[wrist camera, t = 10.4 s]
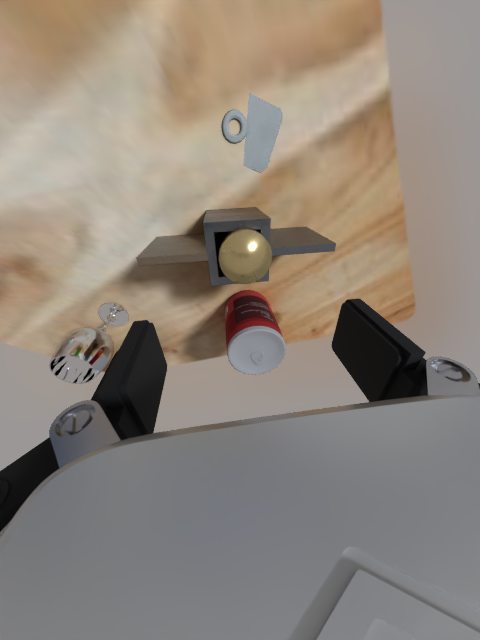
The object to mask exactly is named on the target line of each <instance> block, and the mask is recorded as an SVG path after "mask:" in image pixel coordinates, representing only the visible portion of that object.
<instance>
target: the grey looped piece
mask: <svg viewBox="0 0 480 640" xmlns="http://www.w3.org/2000/svg"><path fill="white" fill-rule="evenodd" d="M233 118H236V119H238V120H239V121H240V123H241V130H240V133H239V134H237V135H233V134H231V133H230V131H229V128H228V125H229V122H230V120H231V119H233ZM281 122H282V111H281V109H280V108H278V107H276V106H274V105H272V104H270V103H268V102H266V101H264V100H262V99H260V98H258V97H256V96H254V95H252V94H250V93H249V103H248V116H247V121H246V118H245V116H244V115H243V113H241V112H240V111H239V110H234V109H233V110H231V111H228V112H227V114H226V115H225V116H224V119H223V121H222V130H223V134H224V136H225V138H226V139H227V140H228V141H229V142H231V143H239V142H241V141H242V140H243V139H244V138H245V135H246V141H245V154H244V166H246V167H248V168H250V169H253V170H255V171H258V172H260V173H261V172H263V171H264V170H265V169H266V168H267V166H268V163H269V160H270V156H271V153H272V150H273V147H274V144H275V141H276V138H277V135H278V132H279V129H280V126H281Z"/></svg>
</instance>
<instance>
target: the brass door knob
mask: <svg viewBox="0 0 480 640" xmlns="http://www.w3.org/2000/svg"><path fill="white" fill-rule="evenodd" d="M226 236H227V237H226V238H225V239H224V240H223V242H222V244H221V246H220V250H219V264H220V267H221V270H222V272H223V273H224V274H225V276H226V277H227V278H229V279H230V280H231V281H233V282H236V283H240V284H249V283H253V282H256V281H258V280H259V279H261V278H262V277H263V276H264V275H265V274H266V273H267V271H268V270H269V268H270V265H271V262H272V250H271V247H270V245H269V243H268V241H267V240H266V239H265V238H264V236H263V235H262V234H260V233H259V232H257V231H255V230H252V229H239V230H236V231H227V233H226Z"/></svg>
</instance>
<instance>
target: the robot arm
mask: <svg viewBox="0 0 480 640" xmlns="http://www.w3.org/2000/svg"><path fill="white" fill-rule="evenodd" d="M332 349H333V351H334V352H335V354H336V355H337V357H338V358H339V359H340V361H341V362H342V364H343V365H344V366H345V368H346V369H347V371H348V372H349V374H350V375H351V376H352V378H353V379H354V381H355V382H356V383H357V385H358V386H359V388H360V389H361V390H362V392H363V393H364V395H365V396H366V398H367V399H368V400H369V402H368V403H360V404H353V405H345V406H338V407H330V408H323V409H316V410H309V411H302V412H294V413H287V414H280V415H273V416H266V417H259V418H252V419H245V420H238V421H231V422H224V423H217V424H210V425H203V426H196V427H190V428H183V429H177V430H171V431H166V432H159V433H153V431H154V427H155V422H156V417H157V413H158V408H159V404H160V399H161V395H162V390H163V386H164V381H165V376H166V372H167V363H166V360H165V357H164V354H163V351H162V348H161V345H160V342H159V339H158V336H157V333H156V330H155V327H154V325H153V323H149V321H148V320H143V321H135V322H133V324H132V326H131V328H130V330H129V332H128V334H127V336H126V338H125V340H124V342H123V343H122V345H121V347H120V349H119V351H117V352H116V354H115V355H114V357H113V359H112V361H111V363H110V365H109V366H108V368H107V370H106V372H105V374H104V376H103V378H102V380H101V382H100V384H99V385H98V387H97V389H96V391H95V393H94V395H93V397H92V399H91V400H87V401H81V402H78V403H76V404H74V405H72V406H70V407H68V408H67V409H65V410H64V411H63V412H62V413H61V414H59V415H58V416H57V417H56V419H55V420H54V422H53V423H52V425H51V427H50V430H49V435H50V437H49V438H48V439H46V440H45V441H44V442H42V443H41V444H39V445H38V446H36V447H35V448H33V449H32V450H30V451H29V452H28V453H26V454H25V455H23V456H22V457H20V458H19V459H17V460H16V461H15V462H13V463H12V464H10V465H9V466H7V467H6V468H4V469H3V470H1V471H0V640H480V384H479V383H478V382H477V378H476V376H475V374H474V373H473V372H472V371H471V370H470V369H469V368H467V367H466V366H464V365H463V364H461V363H459V362H456V361H454V360H451V359H449V358H444V357H431V358H429V359H427V361H426V360H425V359H424V358H423V356H424V354H425V351H423V350H422V349H421V348H419V347H418V346H417V345H416V344H415V343H413V342H412V341H411V340H410V339H409V338H407V337H406V336H405V335H404V334H402V333H401V332H400V331H399V330H397V329H396V328H395V327H394V326H393V325H391V324H390V323H389V322H388V321H387V320H385V319H384V318H383V317H382V316H380V315H379V314H378V313H377V312H376V311H374V310H373V309H372V308H371V307H369V306H368V305H367V304H366V303H365V302H363V301H362V300H361V299H350V300H346V301H345V303H343V304H342V306H341V310H340V314H339V318H338V322H337V326H336V330H335V333H334V337H333V341H332Z"/></svg>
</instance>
